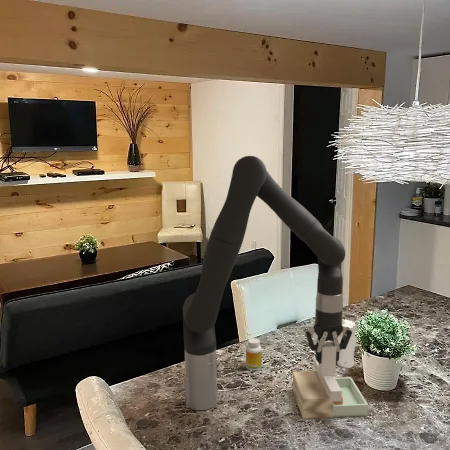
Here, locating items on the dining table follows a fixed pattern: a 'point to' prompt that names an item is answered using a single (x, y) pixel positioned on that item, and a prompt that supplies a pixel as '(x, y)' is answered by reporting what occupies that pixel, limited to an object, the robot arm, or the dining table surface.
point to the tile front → (338, 402)
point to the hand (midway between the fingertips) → (326, 361)
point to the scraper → (328, 371)
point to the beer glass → (348, 346)
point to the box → (350, 400)
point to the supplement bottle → (253, 354)
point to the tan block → (311, 395)
